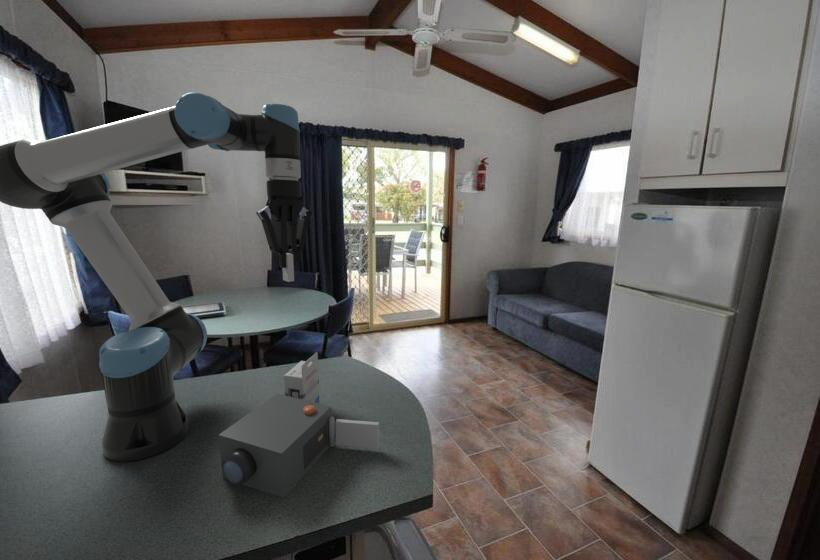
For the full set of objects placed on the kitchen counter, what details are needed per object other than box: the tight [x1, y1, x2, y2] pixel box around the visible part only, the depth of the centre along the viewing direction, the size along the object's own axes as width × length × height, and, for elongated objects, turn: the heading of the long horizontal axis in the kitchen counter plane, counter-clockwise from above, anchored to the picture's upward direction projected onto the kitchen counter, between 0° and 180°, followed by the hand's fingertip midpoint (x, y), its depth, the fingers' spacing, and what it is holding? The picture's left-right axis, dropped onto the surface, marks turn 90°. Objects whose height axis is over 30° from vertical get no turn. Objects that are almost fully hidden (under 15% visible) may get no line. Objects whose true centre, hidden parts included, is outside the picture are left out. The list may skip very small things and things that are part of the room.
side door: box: [335, 418, 380, 450], centre depth 78 cm, size 9×2×6 cm, turn 85°
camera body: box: [218, 393, 336, 499], centre depth 72 cm, size 15×19×10 cm
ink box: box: [283, 351, 320, 404], centre depth 90 cm, size 9×5×15 cm, turn 168°
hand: (288, 280), depth 89 cm, fingers closed
